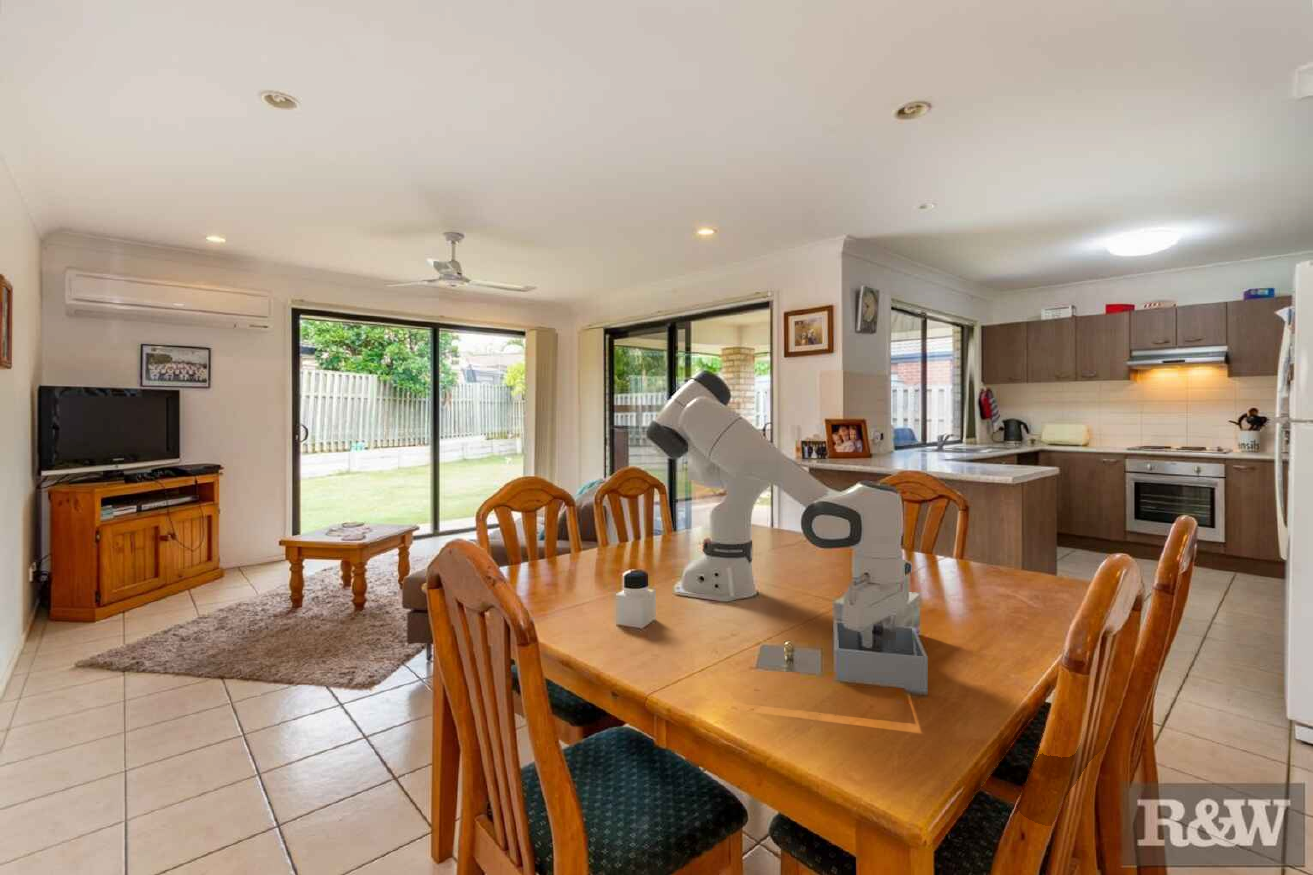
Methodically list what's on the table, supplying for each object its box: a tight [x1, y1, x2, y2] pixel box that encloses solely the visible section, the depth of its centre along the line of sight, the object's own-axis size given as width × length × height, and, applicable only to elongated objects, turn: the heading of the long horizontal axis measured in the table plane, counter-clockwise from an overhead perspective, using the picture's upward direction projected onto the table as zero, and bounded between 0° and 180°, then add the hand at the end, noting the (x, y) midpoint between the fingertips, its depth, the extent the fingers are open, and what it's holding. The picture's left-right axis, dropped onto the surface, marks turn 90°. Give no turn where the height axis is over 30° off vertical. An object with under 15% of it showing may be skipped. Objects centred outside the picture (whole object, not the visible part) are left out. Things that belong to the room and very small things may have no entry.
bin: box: [833, 620, 929, 697], centre depth 113 cm, size 15×15×7 cm
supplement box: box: [832, 591, 921, 637], centre depth 130 cm, size 17×13×9 cm
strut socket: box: [857, 620, 896, 654], centre depth 113 cm, size 5×5×8 cm
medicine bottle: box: [614, 569, 656, 629], centre depth 141 cm, size 7×7×12 cm
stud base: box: [754, 640, 822, 676], centre depth 117 cm, size 12×12×4 cm
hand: (876, 641), depth 113 cm, fingers closed on strut socket, 5 cm apart
